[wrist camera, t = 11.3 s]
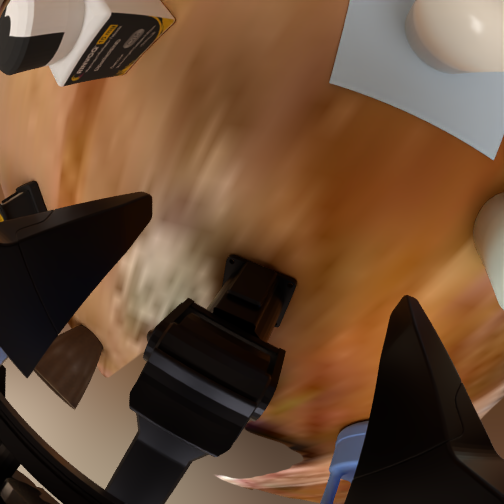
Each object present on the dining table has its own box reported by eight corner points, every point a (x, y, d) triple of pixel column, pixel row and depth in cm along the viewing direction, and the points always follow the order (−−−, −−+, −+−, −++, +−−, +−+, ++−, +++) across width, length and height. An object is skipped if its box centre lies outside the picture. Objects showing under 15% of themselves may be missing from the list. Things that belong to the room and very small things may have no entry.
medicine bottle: (124, 76, 20) (1, 107, 10) (95, 29, 17) (-17, 46, 8) (178, 20, 16) (37, 15, 6) (141, -25, 13) (18, -35, 4)
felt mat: (491, 158, 13) (493, 160, 13) (330, 82, 15) (329, 82, 15) (526, 18, 6) (528, 17, 5) (364, -61, 8) (363, -63, 7)
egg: (468, 88, 11) (519, 94, 6) (397, 52, 12) (416, 33, 7) (483, 25, 8) (532, 6, 3) (411, -10, 9) (431, -54, 4)
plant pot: (83, 344, 62) (47, 386, 50) (59, 303, 53) (14, 348, 41) (123, 368, 57) (85, 419, 45) (99, 326, 49) (49, 383, 36)
